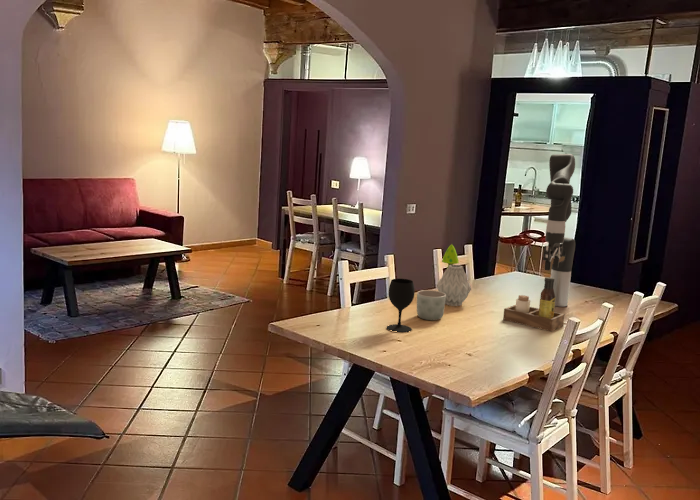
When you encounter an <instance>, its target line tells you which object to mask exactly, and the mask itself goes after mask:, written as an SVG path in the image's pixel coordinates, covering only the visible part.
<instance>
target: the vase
mask: <svg viewBox="0 0 700 500" xmlns="http://www.w3.org/2000/svg"><path fill="white" fill-rule="evenodd" d="M447 267H448V266H447ZM446 269H447V270H446ZM446 269H445V271H444V272H443V274H442V276H441V277H440V279H439V281H437V284H436V285H435V286H436V288H437V291H439V292H443V293H445V294H446V299H445V305H446V306H451V307H457V306H458V307H460V306H462V305H463V303H464V301H466V300H467V298H468V296H469V294H470V292H471V291H472V287H471V286H472V285H471V283H470V281H468V276H467V273H466V272H465V269H464V266H463V265H459V264H453V265H449V267H448V268H446Z"/></svg>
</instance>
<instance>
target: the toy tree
mask: <svg viewBox="0 0 700 500" xmlns="http://www.w3.org/2000/svg"><path fill="white" fill-rule="evenodd" d="M441 263H444V264H447V268H448V267H449V265H458V264H459V257H458V254H457V251H456V248H455V246H454V245H453V243H451V244H450V245H449V246H448V248H447V249H446V251H445V252H444V255H443V257H442V260H441ZM447 268H446V269H445V271H446V270H447Z"/></svg>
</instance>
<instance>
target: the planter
mask: <svg viewBox="0 0 700 500" xmlns="http://www.w3.org/2000/svg"><path fill="white" fill-rule="evenodd" d="M445 299H446V294H445V293H443V292H439V291H438V290H431V289H422V290H419V291H417V292H416V314H417V316H418V317H419V318H420V319H423V320H426V321H438V320H441V319H443V316H444V313H445V308H446V307H445V305H446V304H445Z"/></svg>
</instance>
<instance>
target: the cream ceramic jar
mask: <svg viewBox="0 0 700 500" xmlns="http://www.w3.org/2000/svg"><path fill="white" fill-rule="evenodd" d="M529 298H530V297H529V295H523V294H520V295H518V298H516V299H515V305H516V308H515V311H519V312H523V313H529V310H530V307H531V300H530V299H529Z"/></svg>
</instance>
